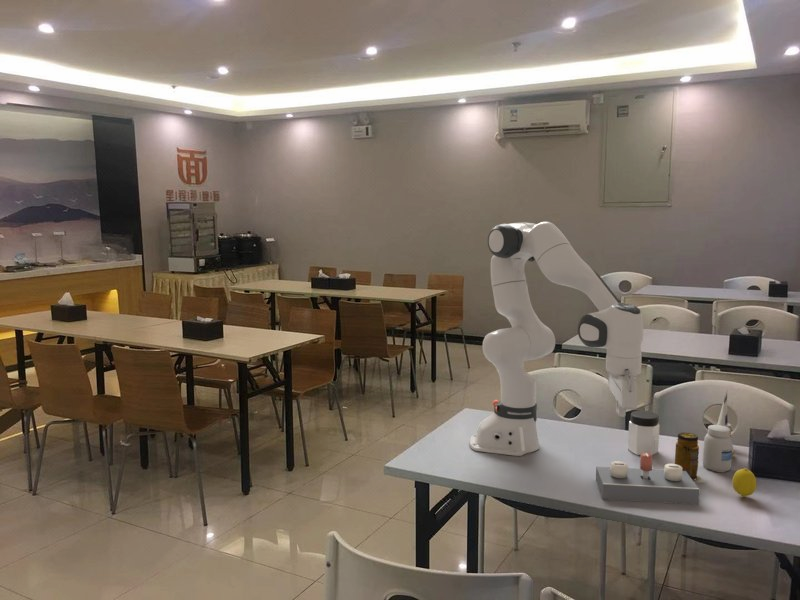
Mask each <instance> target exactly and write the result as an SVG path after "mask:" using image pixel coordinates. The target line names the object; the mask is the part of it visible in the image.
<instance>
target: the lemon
mask: <svg viewBox="0 0 800 600" xmlns="http://www.w3.org/2000/svg"><path fill="white" fill-rule="evenodd" d="M732 488H733V489H734V491H735V492H736V493H737V494H738V495H740V496H741V498H746V497H748V496H751V495H753V494H754V493H755V491H756V488H757V479H756V476H755V474H754V473H753V472H752V471H751V470H749V469H748V468H745V467H744V468H741V469H738V470H736V472H734V475H733V476H732Z"/></svg>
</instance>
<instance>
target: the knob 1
mask: <svg viewBox="0 0 800 600" xmlns="http://www.w3.org/2000/svg"><path fill="white" fill-rule="evenodd" d="M609 467H610V475H611V476H613V477H616V478H626V477H627V472H628V468H629V467H628V463H626V462H625V461H619V460H615V461H611V462H610V466H609Z"/></svg>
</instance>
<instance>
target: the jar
mask: <svg viewBox="0 0 800 600" xmlns="http://www.w3.org/2000/svg"><path fill="white" fill-rule="evenodd" d="M659 420H660V419H659V414H657V413H655V412H653V411H649V410H633V411H632V412H631V413H630V420H629V421H628V438H627V441H628V442H627V450H628V451H630V452H631V453H633V454H635V455H636V456H637V455H638V456H641V453H650V454H652V455H653V456H654V455H656V454H658V453H659V444H660V443H659V441H660V440H659V439H660V423H659Z"/></svg>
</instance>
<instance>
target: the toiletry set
mask: <svg viewBox="0 0 800 600" xmlns="http://www.w3.org/2000/svg"><path fill="white" fill-rule="evenodd" d="M721 406H722V407H721V409H720V413H719V415H718V416H719V417H718V419H717V420H718V421H717V424H710V425H708V426H707V433H706V434H705V436H704V438H703V440H704V441H703V447H702V448H703V451H702V465H703V467H704V468H706V469H707V470H708V471H712V472H718V473H725V472H728V471H730V470H731V467H732V466H731V465H732V460H734V458H735V456H734V455H735V450H734V447H733V442H732V438H731V434H732V432H734V430H733V427H732V424H731V423H729V422H728V388H727V389H726V392H725V394H724V399H723V402H722V405H721Z"/></svg>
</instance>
